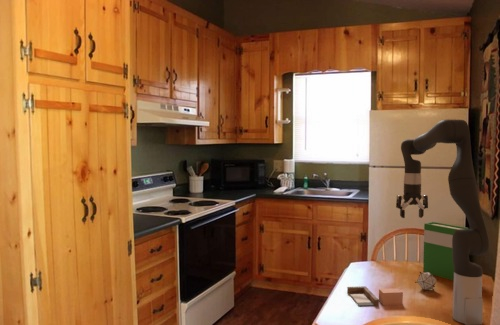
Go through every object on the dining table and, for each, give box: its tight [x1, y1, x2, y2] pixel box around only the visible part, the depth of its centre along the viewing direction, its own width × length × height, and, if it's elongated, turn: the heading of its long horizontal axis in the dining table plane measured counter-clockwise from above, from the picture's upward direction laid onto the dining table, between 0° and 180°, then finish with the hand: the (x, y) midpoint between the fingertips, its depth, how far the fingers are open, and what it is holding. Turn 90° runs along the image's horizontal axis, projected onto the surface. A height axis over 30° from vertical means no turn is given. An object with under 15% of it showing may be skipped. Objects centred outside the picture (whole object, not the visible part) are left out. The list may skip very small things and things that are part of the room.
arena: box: [346, 285, 380, 307], centre depth 176 cm, size 15×8×2 cm, turn 4°
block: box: [378, 287, 404, 306], centre depth 172 cm, size 4×8×5 cm, turn 94°
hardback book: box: [422, 221, 469, 281], centre depth 204 cm, size 18×7×24 cm, turn 36°
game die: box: [414, 271, 439, 292], centre depth 185 cm, size 9×8×10 cm
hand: (411, 217), depth 198 cm, fingers open, 8 cm apart
